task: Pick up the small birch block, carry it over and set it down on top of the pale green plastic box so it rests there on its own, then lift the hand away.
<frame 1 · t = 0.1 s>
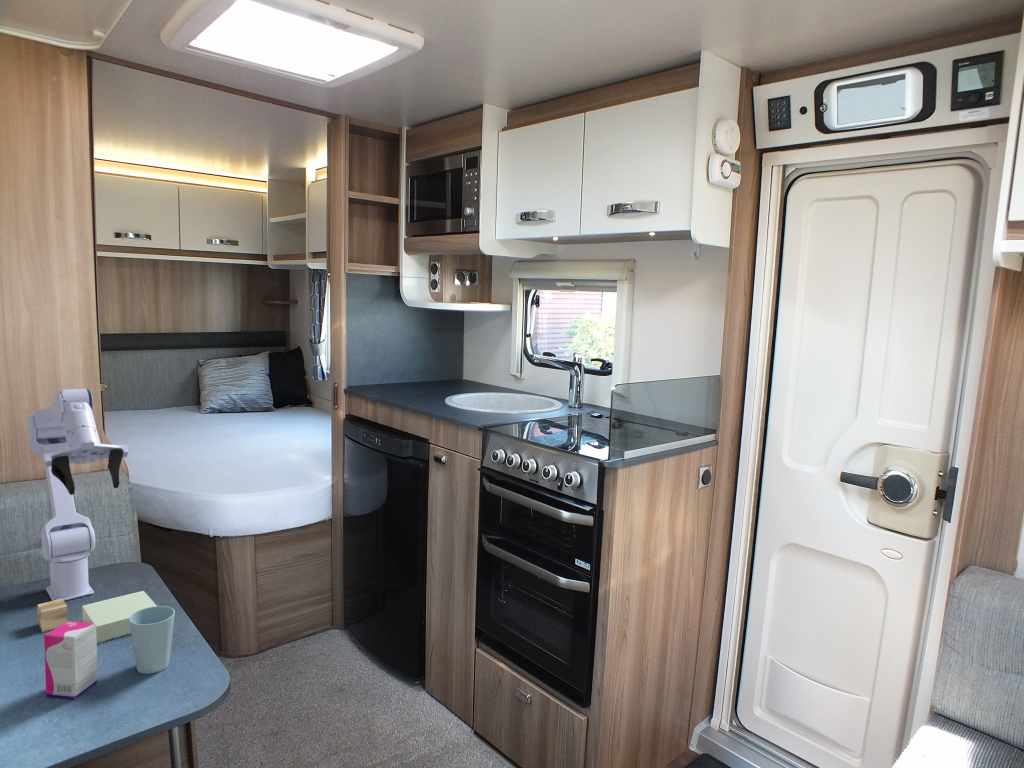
hand: (95, 488, 132), 32 cm above the table, tool tilted 50°, fingers open, 7 cm apart
supplement box: (72, 690, 119), on the table
birch block: (53, 625, 141), on the table
green box: (121, 625, 143), on the table
cup: (153, 667, 127), on the table
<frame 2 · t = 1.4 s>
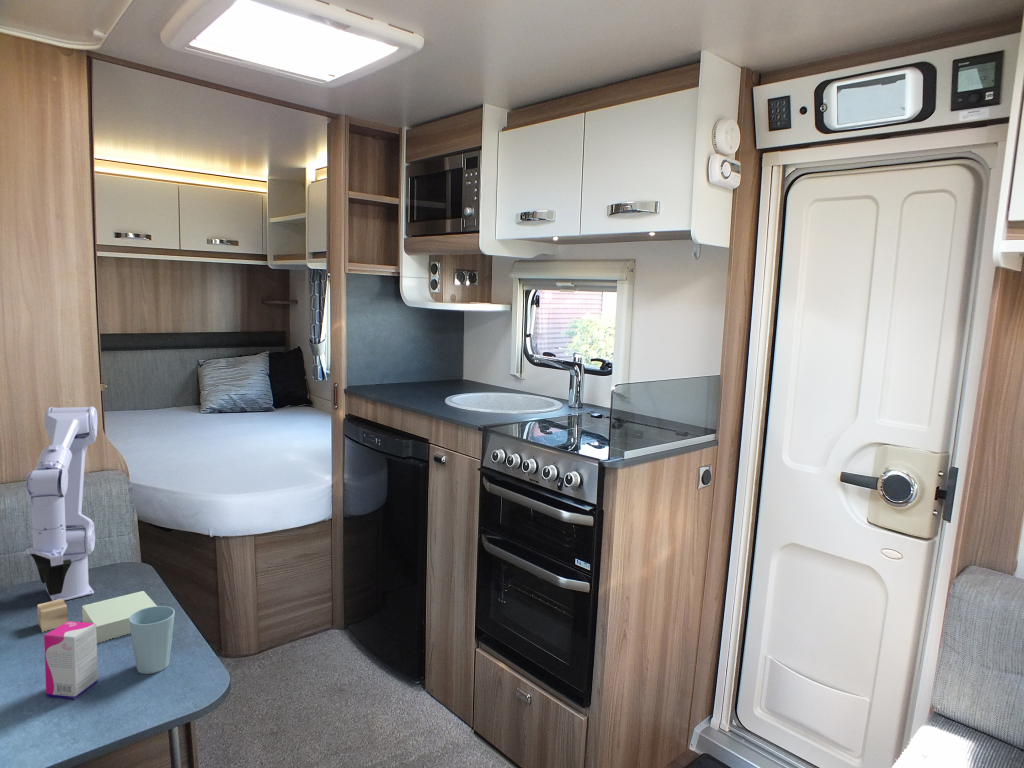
hand: (51, 587, 140), 8 cm above the table, tool pointing down, fingers open, 7 cm apart
nothing on the table moved.
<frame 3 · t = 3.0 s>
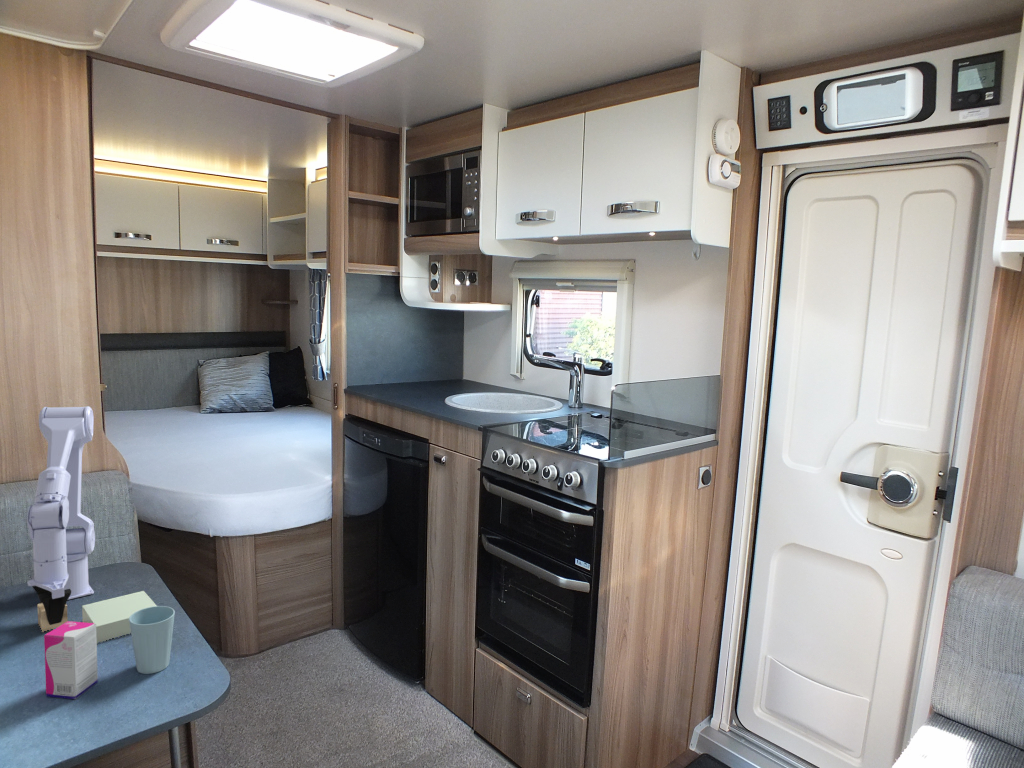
hand: (52, 618, 141), 1 cm above the table, tool pointing down, fingers closed on birch block, 4 cm apart
birch block: (53, 624, 141), on the table, touching gripper
everything else where it was.
when the fingers open (7 cm above the table, at t = 6.7 s): birch block drops 2 cm, point 3 cm above the table.
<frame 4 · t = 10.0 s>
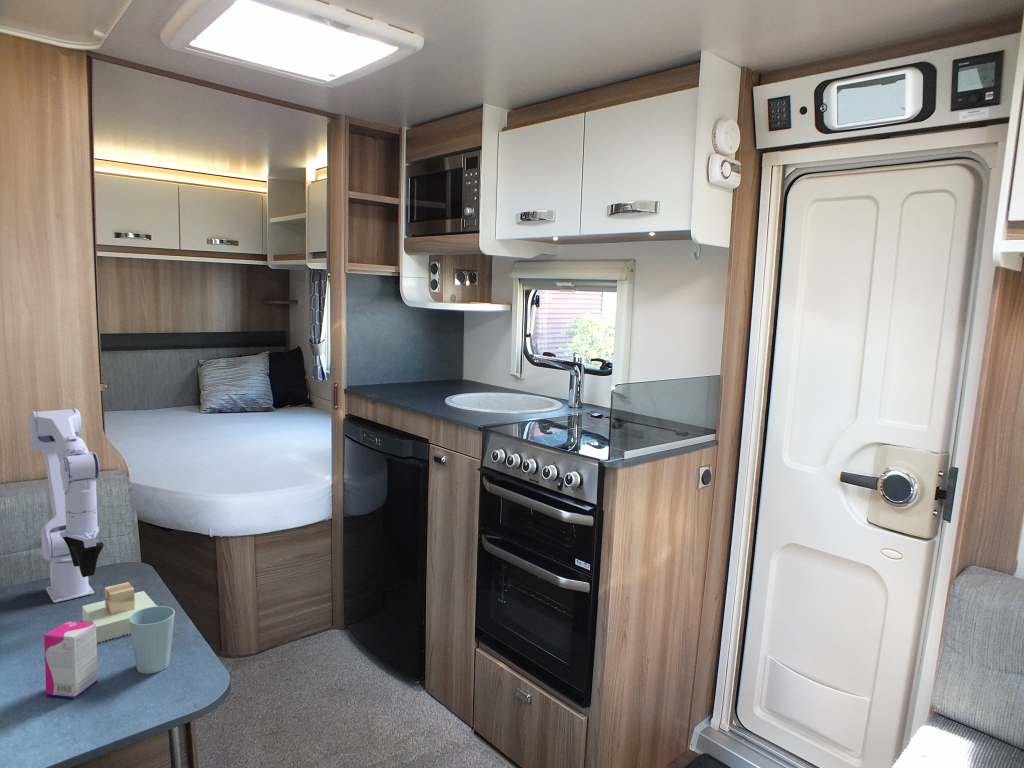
hand: (83, 570, 144), 10 cm above the table, tool pointing down, fingers open, 7 cm apart
birch block: (120, 608, 142), point 3 cm above the table
everything else where it was.
at the end: birch block inside the target area on the green box (0.2 cm from its centre), point 4.0 cm above the green box's base; birch block tilted 0°; the gripper is holding nothing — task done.
